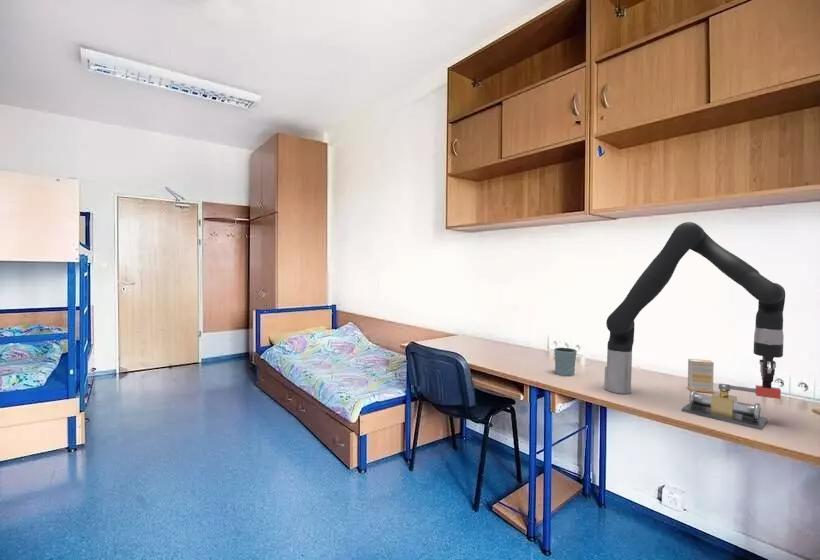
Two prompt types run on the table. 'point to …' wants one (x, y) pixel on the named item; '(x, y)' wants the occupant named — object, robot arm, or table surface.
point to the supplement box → (700, 375)
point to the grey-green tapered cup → (565, 361)
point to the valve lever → (755, 390)
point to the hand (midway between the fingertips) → (766, 392)
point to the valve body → (725, 409)
